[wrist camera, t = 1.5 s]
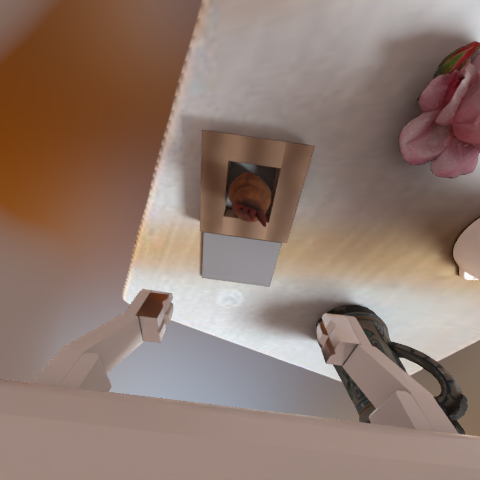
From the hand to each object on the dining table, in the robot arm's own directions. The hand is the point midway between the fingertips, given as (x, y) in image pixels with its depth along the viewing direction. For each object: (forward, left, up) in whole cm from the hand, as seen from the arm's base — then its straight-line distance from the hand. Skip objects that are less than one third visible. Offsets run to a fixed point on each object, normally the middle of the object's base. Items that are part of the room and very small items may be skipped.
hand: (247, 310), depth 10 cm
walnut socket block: (0, 0, -27) cm, 27 cm away
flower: (-26, -14, -28) cm, 40 cm away
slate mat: (0, +16, -27) cm, 32 cm away
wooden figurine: (0, 0, -28) cm, 28 cm away
